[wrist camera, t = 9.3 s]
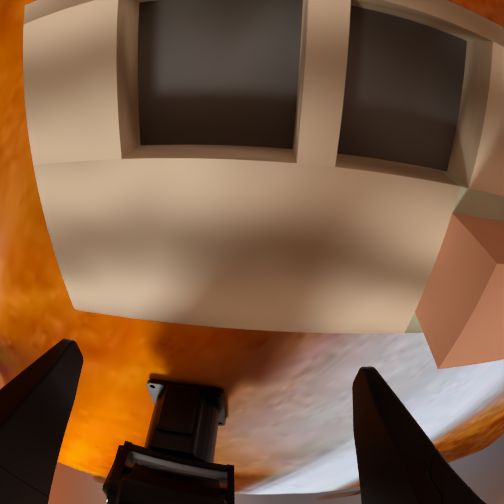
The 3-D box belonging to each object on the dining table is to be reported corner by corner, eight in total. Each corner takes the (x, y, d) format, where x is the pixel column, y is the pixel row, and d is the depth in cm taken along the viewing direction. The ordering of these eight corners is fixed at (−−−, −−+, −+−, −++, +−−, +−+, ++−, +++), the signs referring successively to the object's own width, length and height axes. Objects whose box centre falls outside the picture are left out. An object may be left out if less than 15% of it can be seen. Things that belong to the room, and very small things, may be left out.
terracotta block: (489, 309, 15) (516, 356, 12) (414, 312, 16) (438, 368, 12) (528, 225, 12) (570, 268, 9) (452, 213, 12) (496, 263, 9)
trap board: (478, 304, 18) (504, 349, 15) (90, 283, 19) (60, 332, 15) (548, 70, 9) (601, 86, 5) (55, 8, 10) (-4, 4, 6)
